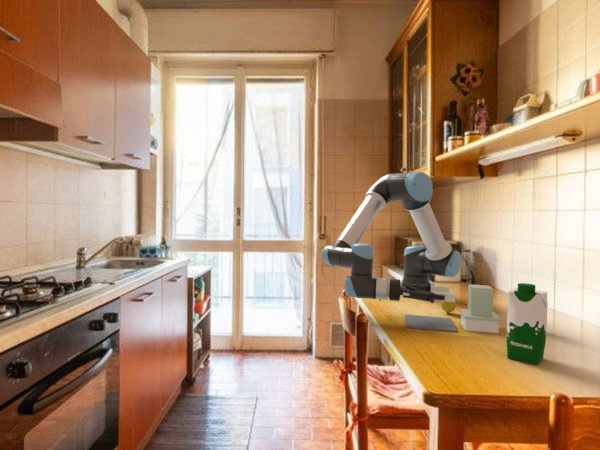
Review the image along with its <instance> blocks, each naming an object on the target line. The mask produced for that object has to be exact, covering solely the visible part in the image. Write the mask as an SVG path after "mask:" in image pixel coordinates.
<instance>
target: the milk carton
mask: <svg viewBox="0 0 600 450" xmlns="http://www.w3.org/2000/svg"><path fill="white" fill-rule="evenodd" d="M507 300H508V301H507V316H506V317H507V318H506V321H507V322H506V355H507V356H506V357H507V359H510V360H512V361H513V360H514V361H517V362H518V361H519V362H522V363H526V364H530V365H535V366H538V365H539V363H540V362H541V361H542V360H543V359H544V355H545V354H544V353H545V349H546V342H547V325H548V323H547V322H548V291H542V290H536V285H535V284H532V283H525V282H523V283H522V282H521V283H518V284H517V287H516V288H512V289H510V290H508V296H507Z"/></svg>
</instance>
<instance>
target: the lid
mask: <svg viewBox="0 0 600 450" xmlns="http://www.w3.org/2000/svg"><path fill="white" fill-rule="evenodd" d="M493 307H494V288H493V287H492V286H490V285H486V284H485V285H483V284H470V283H469V284H468V287H467V308H459V312H460V315H461V314H462V315H463V317H464V318H465V319H474V320H487V321H499V323H502V318H501V317H500V316H499V315H498V314H497V313H496V312H495V311H494V310H493V309H494V308H493Z"/></svg>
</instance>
